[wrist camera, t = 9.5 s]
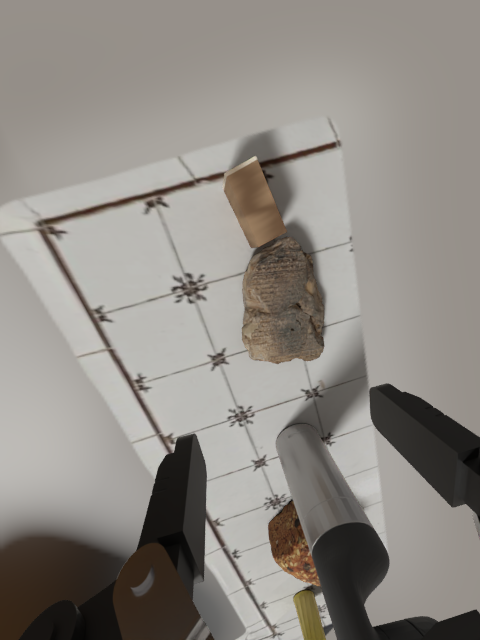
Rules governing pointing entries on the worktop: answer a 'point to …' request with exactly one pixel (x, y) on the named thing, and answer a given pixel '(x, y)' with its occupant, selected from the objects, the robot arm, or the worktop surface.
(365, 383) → the worktop surface
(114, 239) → the worktop surface
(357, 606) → the robot arm
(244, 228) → the walnut block
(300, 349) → the clay tablet
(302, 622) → the vase
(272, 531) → the bread
